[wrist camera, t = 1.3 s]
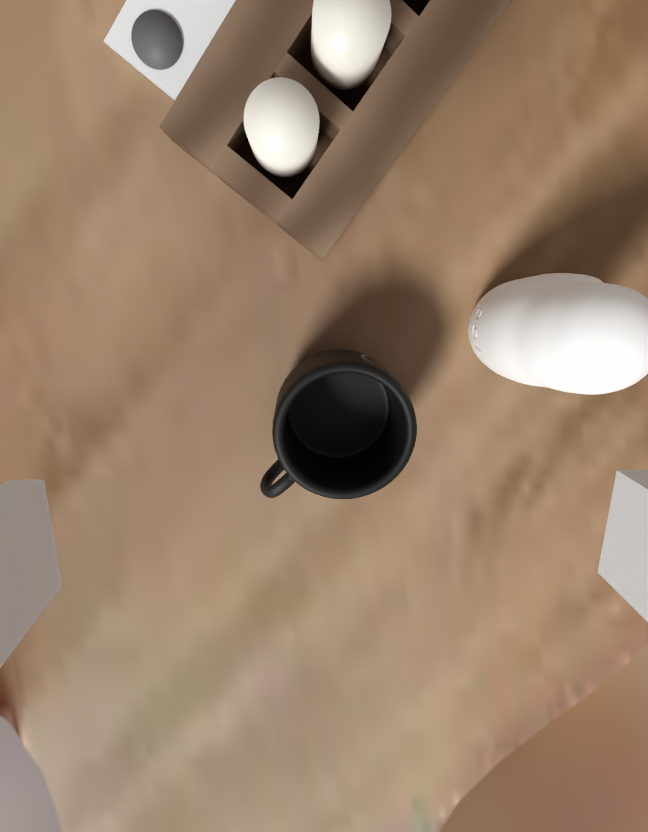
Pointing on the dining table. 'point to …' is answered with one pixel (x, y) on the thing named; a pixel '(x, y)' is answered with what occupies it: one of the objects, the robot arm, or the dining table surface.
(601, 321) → the figurine
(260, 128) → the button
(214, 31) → the card
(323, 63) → the button middle
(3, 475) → the dining table surface
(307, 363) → the mug
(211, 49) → the board
